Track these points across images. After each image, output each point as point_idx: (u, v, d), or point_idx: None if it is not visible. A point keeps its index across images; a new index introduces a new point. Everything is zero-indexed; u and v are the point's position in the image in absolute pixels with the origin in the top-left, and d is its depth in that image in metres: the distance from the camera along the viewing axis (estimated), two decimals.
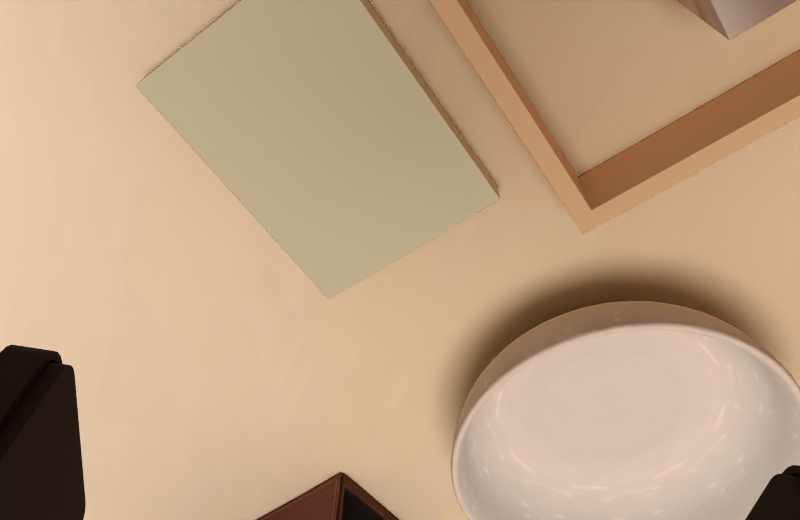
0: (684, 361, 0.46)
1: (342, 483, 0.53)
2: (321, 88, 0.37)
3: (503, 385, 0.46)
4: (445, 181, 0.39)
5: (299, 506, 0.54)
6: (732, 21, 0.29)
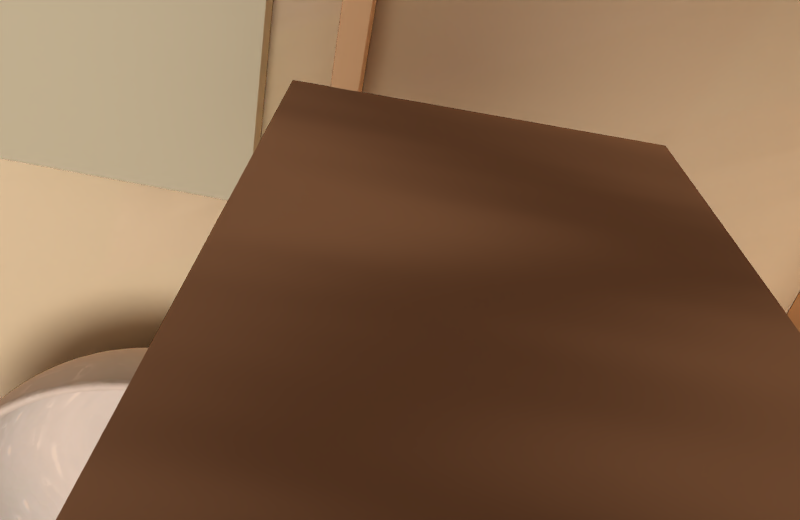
0: None
1: None
2: None
3: None
4: (208, 142, 0.30)
5: None
6: None
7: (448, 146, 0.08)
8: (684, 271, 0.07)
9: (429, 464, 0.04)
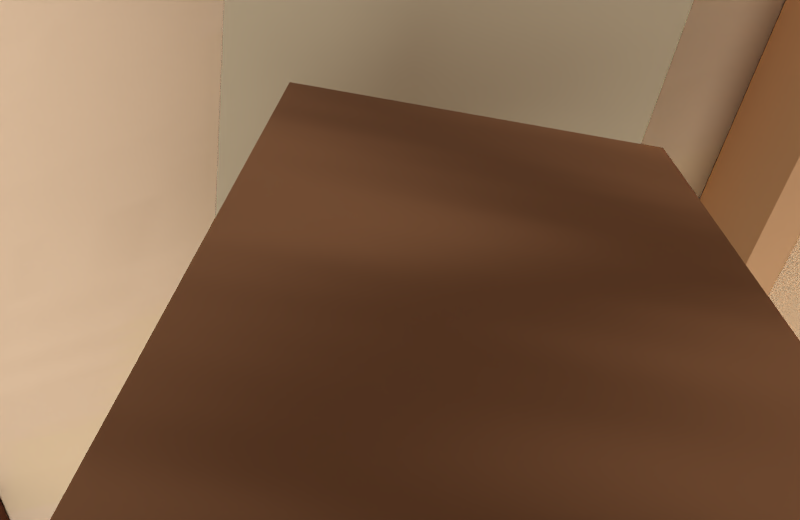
0: None
1: None
2: (511, 59, 0.20)
3: None
4: None
5: None
6: None
7: (445, 147, 0.08)
8: (679, 275, 0.07)
9: (422, 471, 0.04)
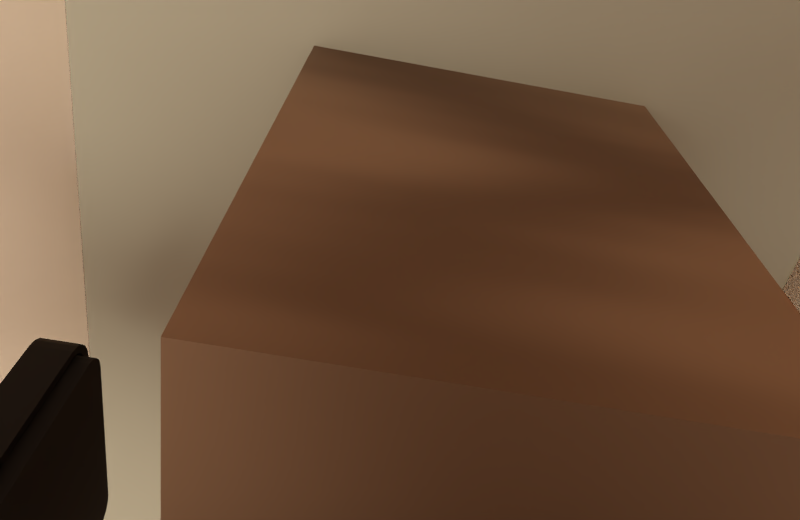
0: None
1: None
2: None
3: None
4: None
5: None
6: None
7: (452, 99, 0.10)
8: (651, 197, 0.08)
9: (441, 309, 0.05)
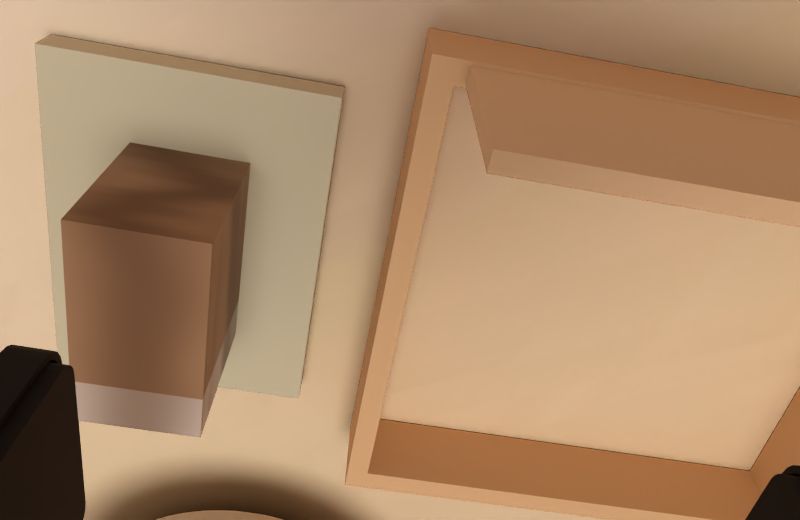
0: None
1: None
2: None
3: None
4: (266, 353, 0.36)
5: None
6: (81, 408, 0.28)
7: (170, 163, 0.29)
8: (212, 194, 0.27)
9: (124, 217, 0.25)
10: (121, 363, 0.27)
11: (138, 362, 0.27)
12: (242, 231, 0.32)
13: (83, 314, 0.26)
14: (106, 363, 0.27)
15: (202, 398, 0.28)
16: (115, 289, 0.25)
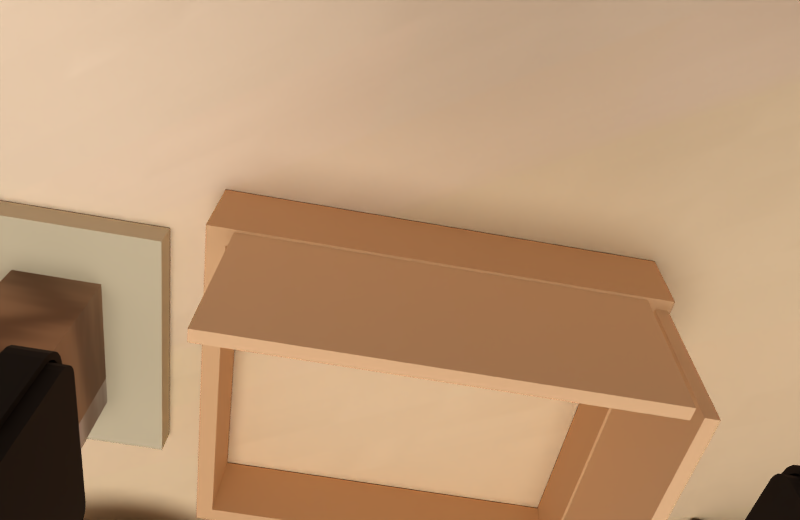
0: None
1: None
2: None
3: None
4: (132, 417, 0.46)
5: None
6: None
7: (36, 288, 0.40)
8: (60, 317, 0.38)
9: None
10: None
11: None
12: (99, 332, 0.42)
13: None
14: None
15: None
16: None
